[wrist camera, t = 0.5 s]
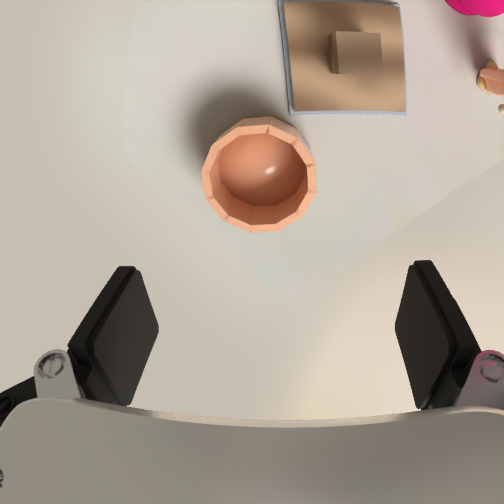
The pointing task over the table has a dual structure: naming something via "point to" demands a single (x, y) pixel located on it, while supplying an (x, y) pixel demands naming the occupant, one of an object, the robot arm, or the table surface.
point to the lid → (345, 56)
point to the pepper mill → (478, 7)
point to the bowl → (259, 175)
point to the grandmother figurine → (492, 81)
